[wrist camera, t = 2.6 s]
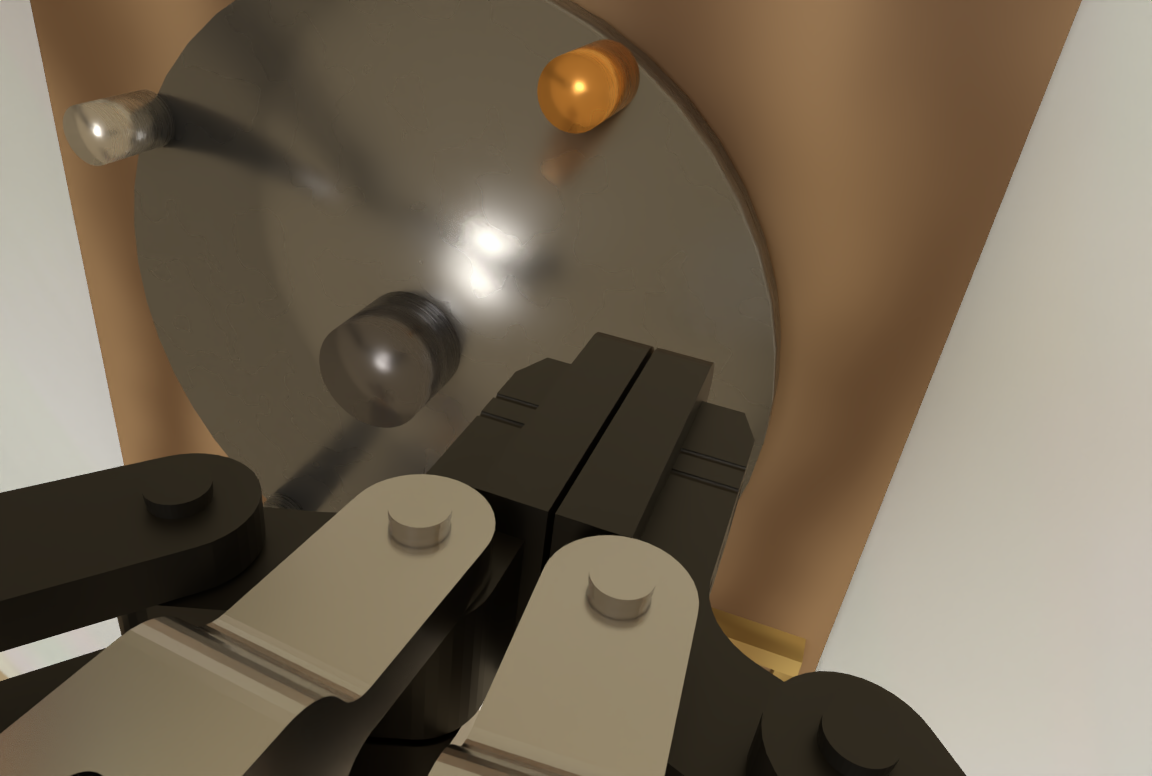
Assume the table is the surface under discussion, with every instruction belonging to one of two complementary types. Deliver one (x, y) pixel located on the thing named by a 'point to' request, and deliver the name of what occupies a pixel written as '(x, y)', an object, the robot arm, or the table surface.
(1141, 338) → the table surface
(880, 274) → the stand
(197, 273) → the round metal platter
